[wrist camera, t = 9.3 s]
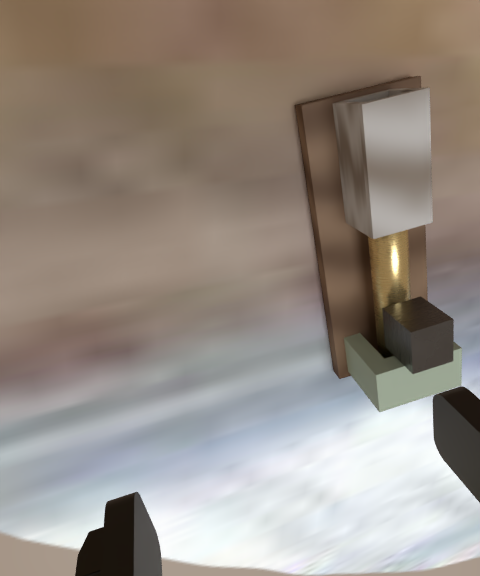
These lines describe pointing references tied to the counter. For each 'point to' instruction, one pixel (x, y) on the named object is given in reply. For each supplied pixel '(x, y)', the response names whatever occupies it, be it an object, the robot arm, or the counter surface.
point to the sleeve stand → (365, 195)
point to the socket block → (397, 375)
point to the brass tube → (405, 310)
